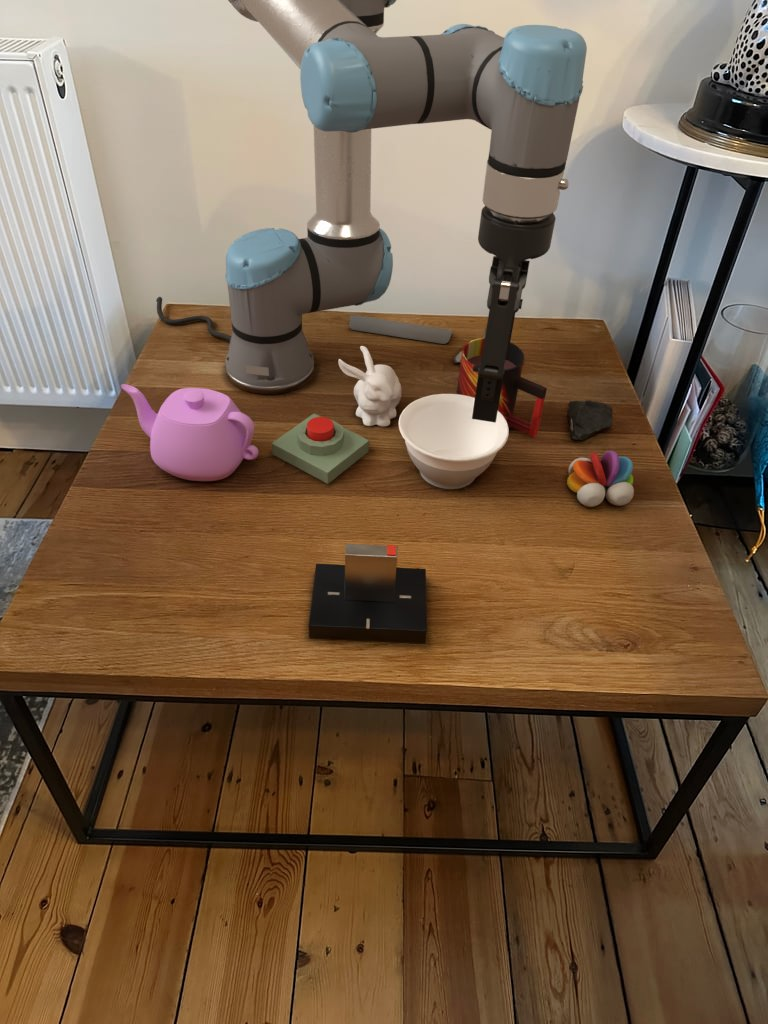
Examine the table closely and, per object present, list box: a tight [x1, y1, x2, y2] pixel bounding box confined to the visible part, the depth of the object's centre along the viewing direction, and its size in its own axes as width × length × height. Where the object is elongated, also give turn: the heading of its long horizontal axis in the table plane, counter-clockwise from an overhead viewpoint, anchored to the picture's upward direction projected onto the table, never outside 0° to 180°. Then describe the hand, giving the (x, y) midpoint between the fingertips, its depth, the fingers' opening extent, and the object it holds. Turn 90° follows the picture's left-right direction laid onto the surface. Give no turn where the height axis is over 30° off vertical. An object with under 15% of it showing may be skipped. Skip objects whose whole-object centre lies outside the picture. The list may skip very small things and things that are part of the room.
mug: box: [456, 337, 548, 438], centre depth 122 cm, size 10×14×12 cm
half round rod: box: [349, 314, 453, 345], centre depth 144 cm, size 4×20×2 cm, turn 77°
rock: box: [567, 399, 614, 441], centre depth 123 cm, size 9×7×5 cm
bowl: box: [397, 393, 510, 490], centre depth 113 cm, size 16×16×9 cm
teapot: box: [120, 383, 259, 482], centre depth 111 cm, size 20×13×12 cm, turn 78°
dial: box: [344, 543, 398, 602], centre depth 91 cm, size 6×2×8 cm, turn 89°
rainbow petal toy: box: [566, 450, 635, 508], centre depth 111 cm, size 8×10×7 cm
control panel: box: [308, 563, 428, 644], centre depth 94 cm, size 14×10×3 cm
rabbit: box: [337, 345, 402, 427], centre depth 122 cm, size 12×9×12 cm
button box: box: [271, 412, 370, 485], centre depth 116 cm, size 11×10×4 cm
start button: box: [307, 416, 334, 442], centre depth 114 cm, size 4×4×2 cm
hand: (490, 386), depth 91 cm, fingers open, 13 cm apart
